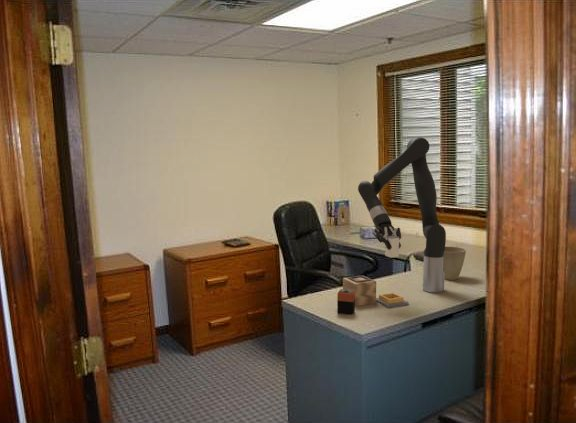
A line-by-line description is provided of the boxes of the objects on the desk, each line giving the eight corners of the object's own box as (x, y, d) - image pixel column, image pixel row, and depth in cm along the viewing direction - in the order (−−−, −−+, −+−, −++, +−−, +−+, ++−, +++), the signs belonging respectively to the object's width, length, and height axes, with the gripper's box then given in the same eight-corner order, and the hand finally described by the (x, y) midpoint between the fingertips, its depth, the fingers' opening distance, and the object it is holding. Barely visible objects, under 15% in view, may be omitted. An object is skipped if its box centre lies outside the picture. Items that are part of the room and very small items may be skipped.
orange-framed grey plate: (394, 298, 227) (394, 291, 227) (408, 304, 217) (408, 297, 217) (373, 300, 223) (374, 294, 223) (387, 308, 213) (387, 301, 213)
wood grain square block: (363, 296, 231) (363, 274, 229) (375, 302, 221) (376, 280, 219) (342, 299, 226) (342, 276, 225) (354, 305, 216) (355, 282, 215)
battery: (339, 310, 211) (339, 287, 210) (355, 311, 209) (355, 289, 207) (337, 313, 207) (337, 290, 205) (352, 315, 205) (353, 292, 203)
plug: (393, 254, 220) (393, 235, 219) (398, 256, 216) (399, 236, 215) (385, 255, 219) (385, 236, 218) (390, 257, 215) (391, 237, 214)
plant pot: (452, 273, 271) (454, 245, 268) (470, 280, 257) (472, 250, 255) (429, 276, 266) (430, 247, 264) (446, 283, 252) (448, 252, 250)
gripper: (370, 213, 219) (384, 244, 210) (396, 211, 225) (412, 242, 215) (363, 223, 225) (377, 254, 215) (389, 221, 230) (404, 251, 221)
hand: (394, 248), depth 215 cm, fingers closed on plug, 4 cm apart
